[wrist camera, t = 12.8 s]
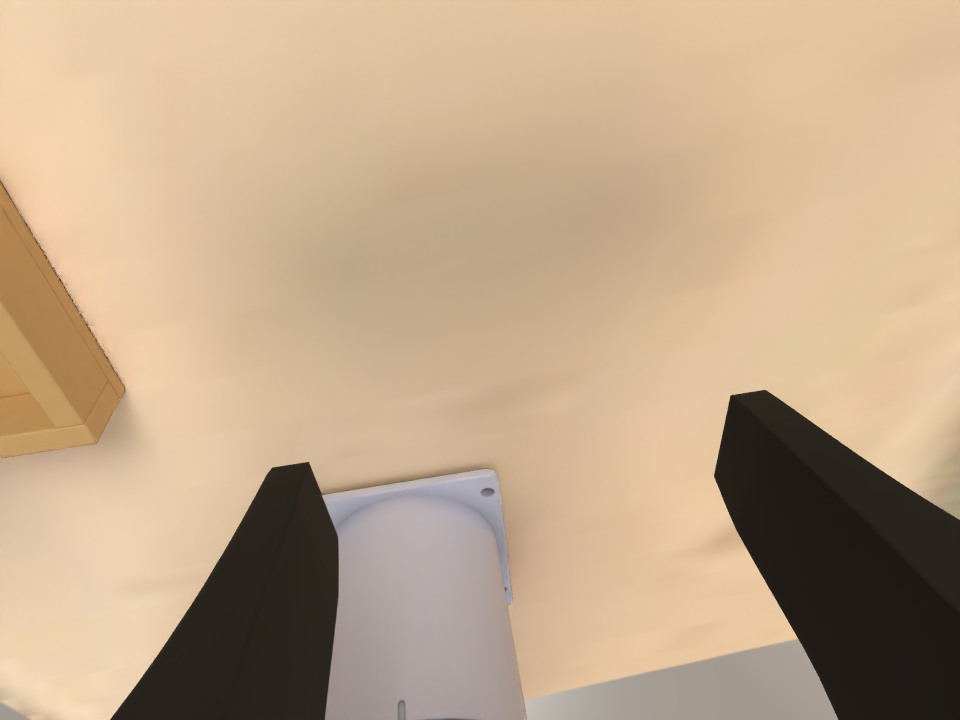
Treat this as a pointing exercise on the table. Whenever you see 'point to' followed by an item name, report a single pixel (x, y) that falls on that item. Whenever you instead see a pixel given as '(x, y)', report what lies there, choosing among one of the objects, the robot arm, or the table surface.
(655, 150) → the table surface
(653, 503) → the table surface
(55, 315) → the tray
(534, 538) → the table surface
